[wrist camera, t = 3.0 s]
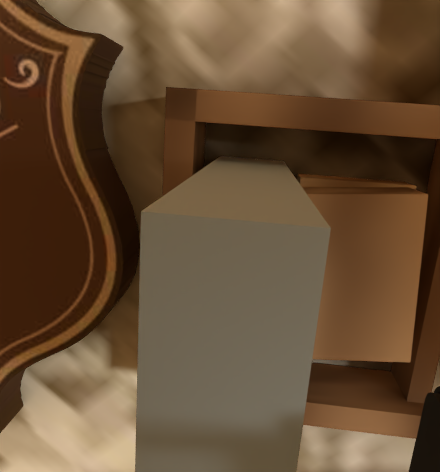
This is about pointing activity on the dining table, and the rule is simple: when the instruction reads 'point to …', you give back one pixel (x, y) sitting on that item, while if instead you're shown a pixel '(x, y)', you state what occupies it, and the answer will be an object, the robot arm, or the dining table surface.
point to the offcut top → (369, 272)
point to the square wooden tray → (433, 253)
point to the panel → (227, 319)
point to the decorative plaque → (55, 193)
